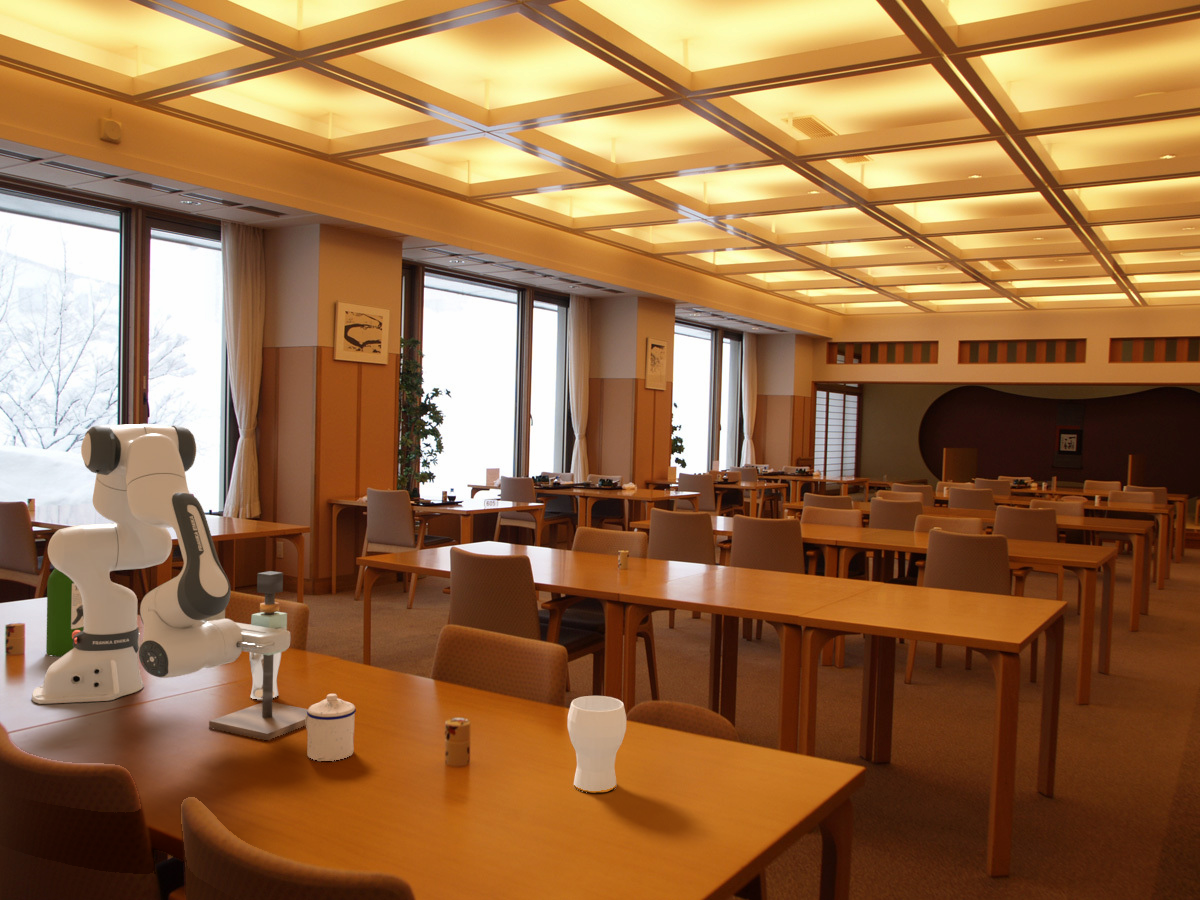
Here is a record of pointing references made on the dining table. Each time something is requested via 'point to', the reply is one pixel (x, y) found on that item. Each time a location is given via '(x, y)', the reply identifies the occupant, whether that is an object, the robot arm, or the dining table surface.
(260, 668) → the beer glass
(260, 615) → the marker sleeve
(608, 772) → the cup
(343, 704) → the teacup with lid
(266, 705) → the post stand
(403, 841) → the dining table surface
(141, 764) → the dining table surface
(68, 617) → the wine bottle
